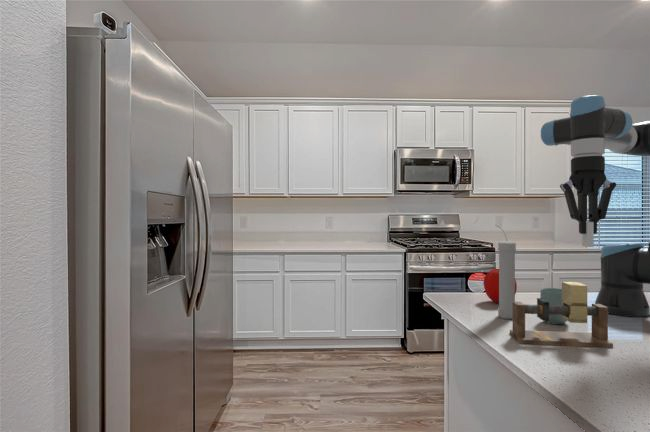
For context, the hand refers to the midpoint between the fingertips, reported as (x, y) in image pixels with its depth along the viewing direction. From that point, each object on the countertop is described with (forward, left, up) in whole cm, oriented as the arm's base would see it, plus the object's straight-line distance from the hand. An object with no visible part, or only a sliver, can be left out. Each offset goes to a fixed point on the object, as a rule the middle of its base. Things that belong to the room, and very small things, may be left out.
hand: (587, 246), depth 107 cm
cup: (+1, -18, -25) cm, 31 cm away
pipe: (+14, -23, -25) cm, 37 cm away
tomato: (+10, -45, -25) cm, 52 cm away
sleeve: (+3, 0, -20) cm, 20 cm away
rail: (+7, 0, -25) cm, 26 cm away
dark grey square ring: (+11, 0, -20) cm, 22 cm away
